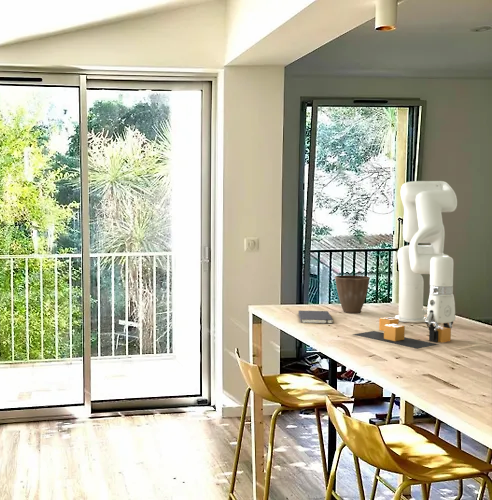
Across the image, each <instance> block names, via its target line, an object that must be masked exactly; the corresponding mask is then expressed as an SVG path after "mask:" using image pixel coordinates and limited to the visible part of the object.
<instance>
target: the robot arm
mask: <svg viewBox="0 0 492 500" xmlns="http://www.w3.org/2000/svg"><path fill="white" fill-rule="evenodd" d="M399 195H400V199H401V203H402V206H403V207H402V208H403V219H402V220H403V221H402V238H403V241H405V242H406V243H409V244H408V245H404V246H401V247H399V248H398V250H397V253H396V257H397V265H398V313H397V314H398V315H394V318H396V319H399V322H401V323H411V324H412V323H413V324H420V323H425V324H426V327H427V330H428V342H431V343H439V342H438V331H437V329H438V326H439V325H440V324H441V325H442V327H446V328H451V329H453V324H454V321H456V301H455V295H454V294H453V293H454V258H453V257H451V256H450V255H449V254H446V253H444V250H445V238H446V233H445V225H444V223H443V221H444V220H443V215H442V214H443V213H452V212H455V211H456V210H457V208H458V207H457V206H458V199H457V198H458V197H457V194H456V192H455V190H454V189H453V187H451V185H450V184H449V183H448V182H446V181H443V180H415V181H414V180H413V181H406V182H404V183H403V184H402V185H401V187H400V193H399ZM420 244H429V245H420ZM423 275H429V296H428V301H427V309H424V290H425V289H424V288H425V287H424V284H425V283H424V282H425V281H424V277H423ZM425 315H426V317H425Z"/></svg>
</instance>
